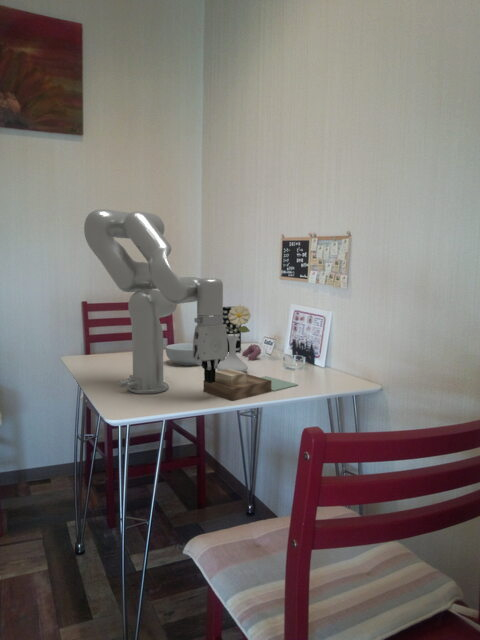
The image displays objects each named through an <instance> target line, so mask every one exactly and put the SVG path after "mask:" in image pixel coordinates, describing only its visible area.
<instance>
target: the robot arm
mask: <svg viewBox="0 0 480 640" xmlns="http://www.w3.org/2000/svg"><path fill="white" fill-rule="evenodd" d="M83 225H84V227H83V231H84V232H83V234H84V238H85V241H86V243H87V244H88V247H89V248H90V250H91V251H92V253H93V254H94V255H95V256H96V258H97V259H98V260H99V261H100V262H101V265H103V268H104V269H105V270H106V272H107V273H108V274H109V276H110V278H111V279H112V281H113V282H114V283H115V285H116V286H117V288H119V290H121V291H122V292H125V293H133V294H132V295H131V296H130V298H129V301H128V303H127V304H128V305H127V306H128V313H129V314H128V315H129V318H130V323H131V341H132V349H131V350H132V375H129V378H127V379H124V380H123V379H122V380H118V387H119V388H123V387H127V390H128V391H129V392H130V391H131V393H133V392H134V394H139V395H140V394H143V395H145V394H147V395H149V394H159V393H162V392H163V393H164V392H165V391H167V390H169V386H170V385H169V384H168V382H166V381H164V332H163V331H164V330H163V327H162V323H161V321H160V319H161V318H165V317H168V316H171V315H172V314H174V312H175V311H176V309H177V305H178V304H186V303H196V317H195V318H194V321H193V322H194V323H196V325H195V327H194V333H193V341H192V343H193V357H194V358H195V360H194V364H195V365H198V366H201V368H202V369H203V371H204V372H203V378H204V379H203V380H205V382H208V383H212V382H213V383H214V382H215V371H216V370H218V369H217V366H218V365H219V364H220V363H221V362H222V361H223V360H225V358H227V357H228V355H229V353H228V342H227V333H226V328H225V325H223V307H224V302H223V301H224V294H223V293H224V285H223V284H224V283H223V281H222V280H221V279H220V278H215V277H214V278H212V277H211V278H200V277H195V276H185V277H184V276H183V277H181V276H180V277H179V275H178V274H177V273H176V272H175V271H174V269H173V268H172V266H171V265H170V263H169V261H168V257H169V255H170V254H171V252H172V246H171V244H170V242H169V241H168V239H166V238H165V236H164V233H165V223H164V221H163V219H162V218H161V217H159V216H158V215H157V214H154V213H152V212H151V213H150V212H144V211H133V212H124V211H119V210H111V209H95V210H93V211H91V212H90V213H88V214H87V216H86V218H85V221H84V224H83ZM116 238H117V239H130V241H131V242H132V243H133V244H134V245H135V247H136V248H137V249H138V251H139V252H140V253H141V255H142V256H143V257H144V258H145V260H146V261H147V262H144V261H141V262H139V261H136V260H134V259H133V258H132V257H131V256H130V255H129V253H128V252H127V250H126V249H125V247H124V246H122V244H120V242H118V241H117V240H116Z"/></svg>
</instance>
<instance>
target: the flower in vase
mask: <svg viewBox="0 0 480 640" xmlns="http://www.w3.org/2000/svg"><path fill="white" fill-rule="evenodd" d="M233 307H234V308H231V310H230V312H229V314H228V317H229V320H230V323H233V324H234V325H235V324H236V325H237V326H239V327H238V329H239V330H240V331H241V334H243V333H249V332H251V330H250V329H249V328H248V327H247V326H246V324H247V323H248V322H249V320H250V319H251V317H252V314H251V311H250V308H249V307H248V306H245V305H241V304H239V305H235V306H233ZM240 325H241V327H240ZM227 328H229V327H227ZM229 329H231V328H229ZM238 329H237V331H238ZM231 330H233V329H231ZM233 331H234V330H233ZM237 331H236V332H237ZM236 332H235V333H234V334H228V335H227V338H228V341H229V348H230V350H229V353H228V355H227V357H225V360H223V361H221V362H220V363H219V364H218V366H217V369H216V370H217V371H220V370H225V369H232V370H236V371H240V372H243V373H245V372H246V371H248V369H249V368H248V365H247V364H246V362H245V361H243V360H242V359H241V358H240V357H239V356H238V355H237V353H236V342H237V339H238V337H239V336H240V335H237V334H236Z"/></svg>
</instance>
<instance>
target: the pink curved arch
mask: <svg viewBox="0 0 480 640" xmlns="http://www.w3.org/2000/svg"><path fill="white" fill-rule="evenodd" d="M261 353H262V349H261V347H260V346H259V345H257V344H255V343H253V344H250V345H249V346H248V347H247V348H246V349H245V350H244V351H242V353H241V355H242V357H243V356H246V357H248V358H247V359H248V360H249V361H250V360H251V361H254V360H256V359H257V358H258V357H259V356H260V355H261Z"/></svg>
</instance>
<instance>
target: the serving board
mask: <svg viewBox="0 0 480 640" xmlns="http://www.w3.org/2000/svg"><path fill="white" fill-rule="evenodd" d="M260 377H261V376H260ZM260 377H259V376H255V375H252V374H249V373H246V383H243V384H238V385H234V386H230V385H226V384H223V383H220V382H216V381H215V382H214V383H213V382H212V383H208V382H205V379H203V392H206V393H208V394H211V395H214V396H217V397H220V398H223V399H226V400H228V401H238V400H242V399H245V398H251V397H254V396H259V395H262V394H267V393H271V392H272V391H271V383H272V381H271V380H267V379H264V378H260Z"/></svg>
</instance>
